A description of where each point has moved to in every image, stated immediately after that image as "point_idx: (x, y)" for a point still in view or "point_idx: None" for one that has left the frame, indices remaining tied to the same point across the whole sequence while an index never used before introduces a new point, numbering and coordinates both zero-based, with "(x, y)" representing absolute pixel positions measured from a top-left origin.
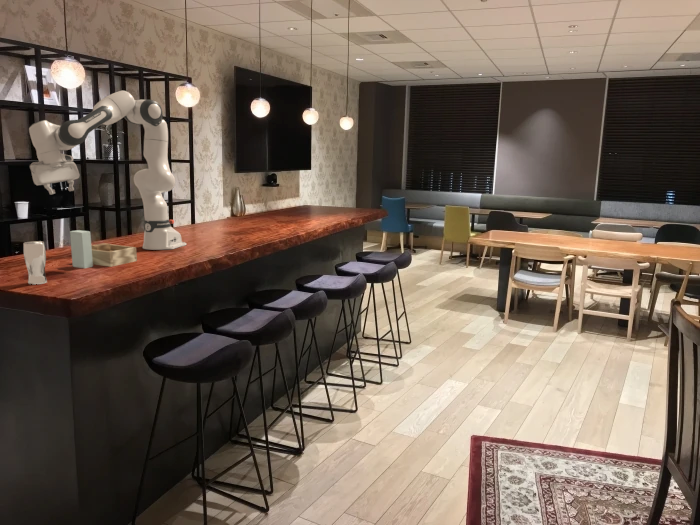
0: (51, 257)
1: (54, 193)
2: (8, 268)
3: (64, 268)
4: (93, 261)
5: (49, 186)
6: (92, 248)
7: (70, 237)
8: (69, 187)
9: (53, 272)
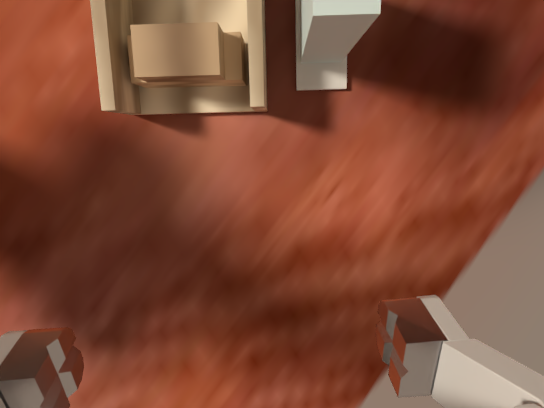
0: (232, 329)
1: (392, 300)
2: (446, 279)
3: (349, 102)
4: (264, 22)
5: (527, 389)
6: (221, 61)
7: (371, 23)
8: (48, 388)
9: (421, 71)
